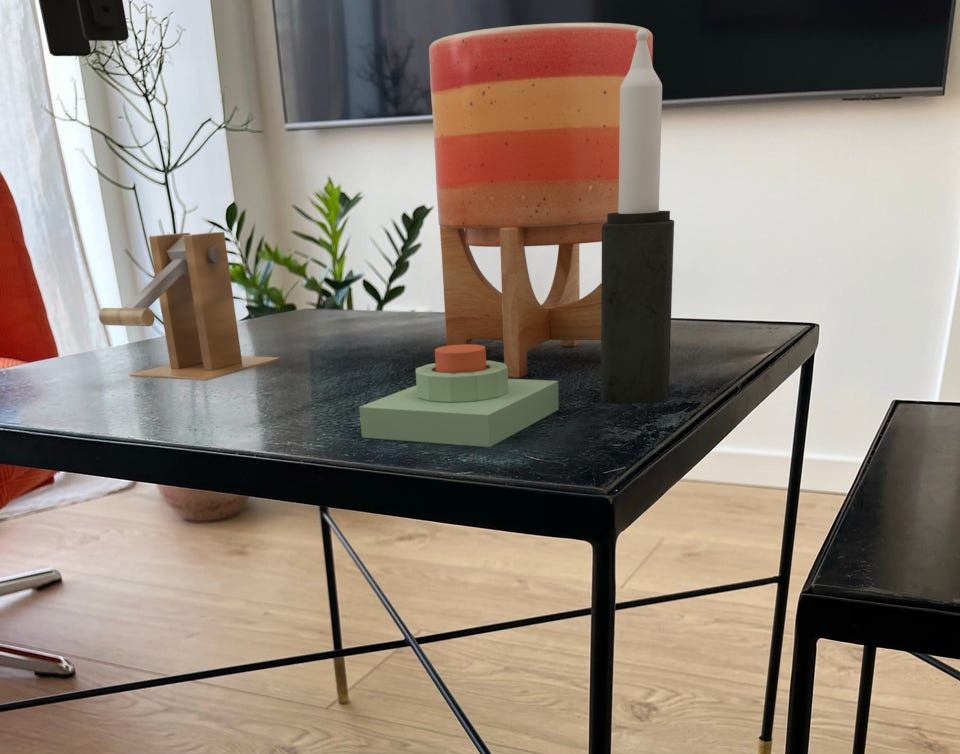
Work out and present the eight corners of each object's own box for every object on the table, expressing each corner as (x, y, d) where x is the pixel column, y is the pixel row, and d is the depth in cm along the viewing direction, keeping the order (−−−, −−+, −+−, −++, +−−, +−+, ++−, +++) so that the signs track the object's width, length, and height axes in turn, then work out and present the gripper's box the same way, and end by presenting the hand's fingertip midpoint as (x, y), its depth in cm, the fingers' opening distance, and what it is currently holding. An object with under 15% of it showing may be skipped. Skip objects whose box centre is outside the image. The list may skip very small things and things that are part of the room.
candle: (605, 390, 82) (608, 36, 72) (669, 390, 81) (681, 30, 71) (599, 403, 78) (601, 27, 68) (666, 403, 77) (678, 21, 67)
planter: (623, 381, 86) (628, 12, 75) (409, 376, 93) (384, 37, 81) (667, 344, 103) (677, 39, 92) (484, 342, 109) (472, 57, 98)
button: (472, 379, 70) (471, 353, 69) (427, 376, 72) (425, 351, 71) (494, 369, 73) (494, 344, 72) (450, 368, 75) (449, 343, 74)
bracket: (207, 391, 90) (183, 237, 85) (131, 387, 94) (104, 239, 89) (281, 370, 99) (264, 229, 94) (209, 366, 103) (189, 231, 98)
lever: (150, 334, 86) (137, 309, 84) (106, 333, 88) (92, 308, 86) (225, 259, 93) (214, 234, 91) (182, 259, 95) (171, 235, 93)
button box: (489, 447, 67) (487, 386, 65) (361, 438, 71) (356, 380, 69) (558, 410, 77) (558, 356, 75) (442, 403, 81) (439, 352, 79)
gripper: (-46, -201, 76) (12, 61, 83) (5, -286, 63) (69, 33, 70) (56, -189, 80) (103, 60, 87) (125, -267, 67) (173, 34, 74)
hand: (88, 48), depth 79 cm, fingers open, 9 cm apart
